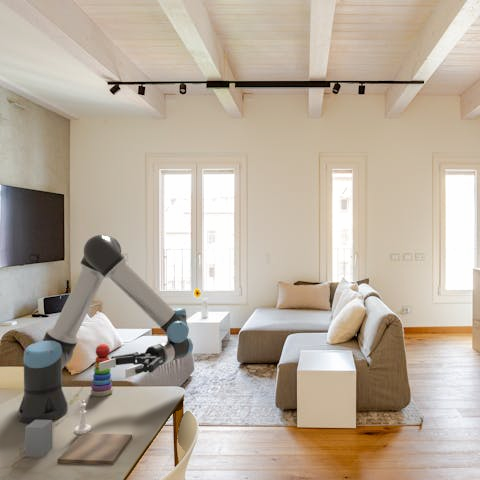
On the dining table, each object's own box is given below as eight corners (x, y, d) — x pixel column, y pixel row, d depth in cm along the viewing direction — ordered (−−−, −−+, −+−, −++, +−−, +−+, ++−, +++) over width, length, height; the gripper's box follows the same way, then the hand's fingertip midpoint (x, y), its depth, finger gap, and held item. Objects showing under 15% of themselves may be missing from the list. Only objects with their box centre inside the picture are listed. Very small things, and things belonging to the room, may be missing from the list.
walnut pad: (57, 462, 111) (57, 459, 111) (83, 436, 126) (83, 433, 126) (112, 464, 110) (112, 460, 110) (132, 437, 125) (132, 434, 125)
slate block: (25, 456, 114) (25, 427, 114) (35, 447, 119) (35, 419, 119) (42, 457, 114) (42, 427, 114) (52, 448, 119) (52, 420, 119)
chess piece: (85, 425, 134) (85, 393, 134) (94, 429, 131) (94, 397, 131) (71, 430, 130) (71, 398, 130) (79, 435, 127) (79, 402, 127)
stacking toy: (106, 397, 157) (105, 347, 157) (86, 396, 159) (86, 346, 159) (116, 390, 165) (116, 342, 165) (97, 389, 166) (97, 341, 166)
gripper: (184, 370, 149) (138, 388, 131) (136, 360, 163) (89, 375, 146) (184, 348, 149) (138, 364, 131) (136, 340, 163) (88, 353, 146)
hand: (112, 370), depth 138 cm, fingers open, 13 cm apart
